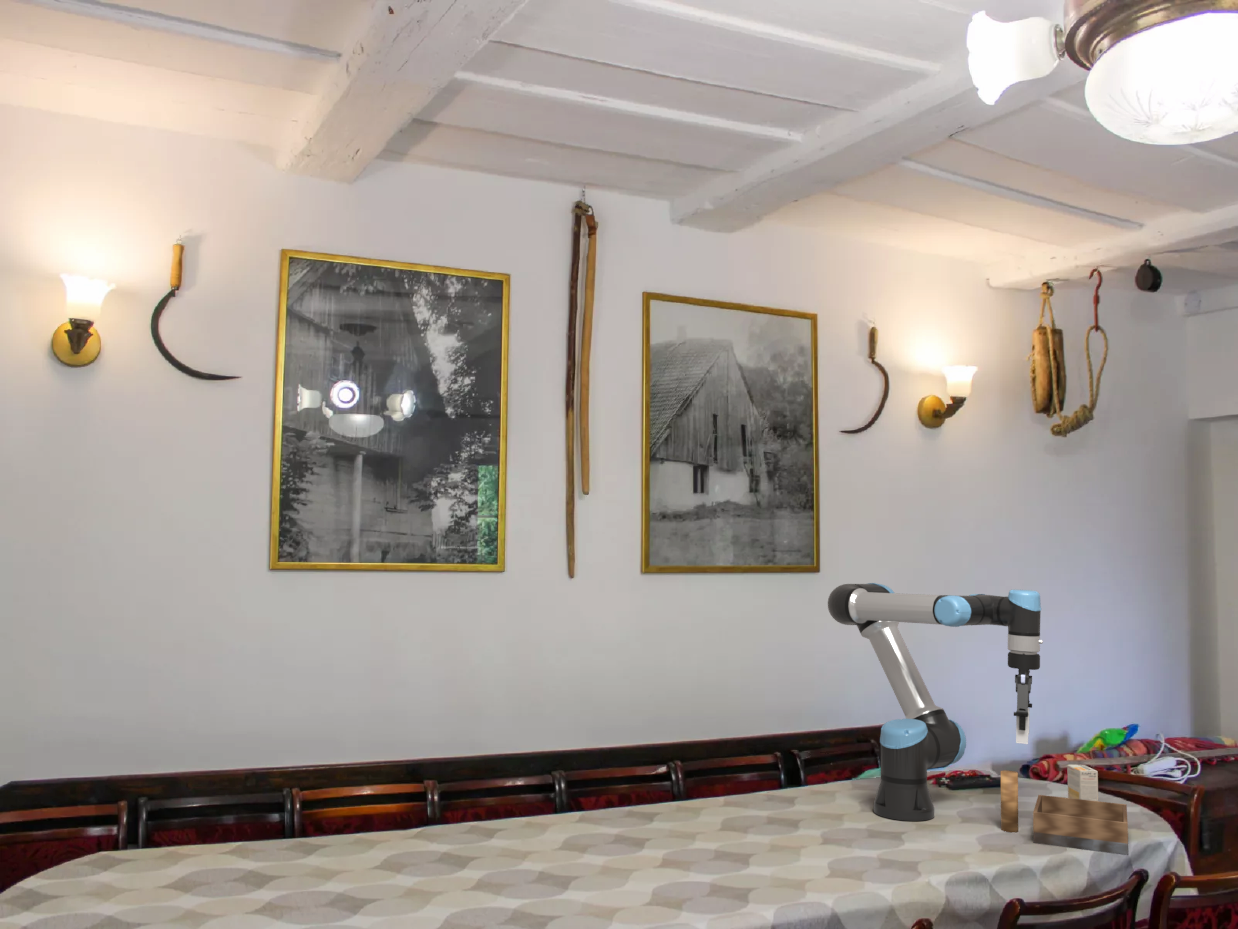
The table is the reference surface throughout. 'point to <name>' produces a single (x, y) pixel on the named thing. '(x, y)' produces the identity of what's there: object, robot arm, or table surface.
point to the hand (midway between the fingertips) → (1022, 738)
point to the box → (1081, 824)
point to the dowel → (1009, 801)
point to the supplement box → (1082, 782)
